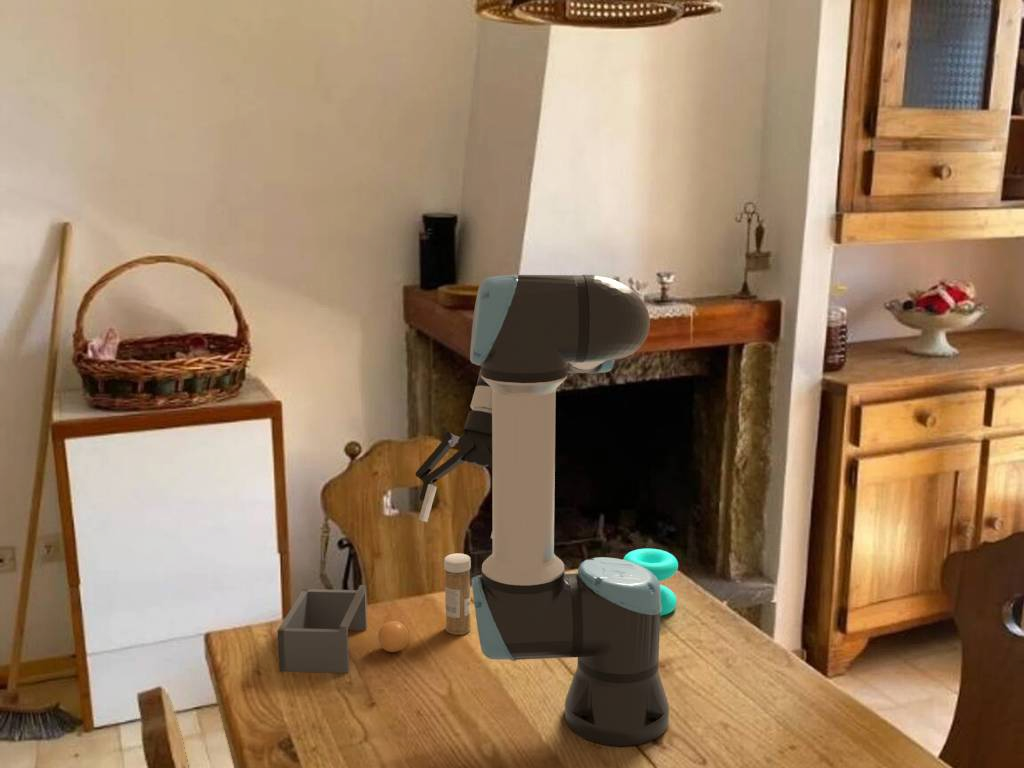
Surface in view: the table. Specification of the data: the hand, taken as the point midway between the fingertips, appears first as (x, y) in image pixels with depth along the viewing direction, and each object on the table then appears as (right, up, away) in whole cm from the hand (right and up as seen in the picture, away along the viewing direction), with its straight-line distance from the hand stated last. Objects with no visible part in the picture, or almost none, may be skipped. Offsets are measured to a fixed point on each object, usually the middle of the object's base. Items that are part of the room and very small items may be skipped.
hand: (458, 530), depth 173 cm
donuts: (+35, -16, +8) cm, 39 cm away
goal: (-22, -19, -8) cm, 30 cm away
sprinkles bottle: (0, -17, -1) cm, 17 cm away
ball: (-10, -16, -9) cm, 21 cm away
